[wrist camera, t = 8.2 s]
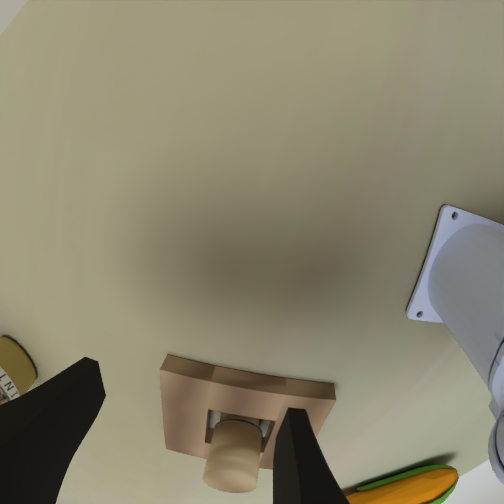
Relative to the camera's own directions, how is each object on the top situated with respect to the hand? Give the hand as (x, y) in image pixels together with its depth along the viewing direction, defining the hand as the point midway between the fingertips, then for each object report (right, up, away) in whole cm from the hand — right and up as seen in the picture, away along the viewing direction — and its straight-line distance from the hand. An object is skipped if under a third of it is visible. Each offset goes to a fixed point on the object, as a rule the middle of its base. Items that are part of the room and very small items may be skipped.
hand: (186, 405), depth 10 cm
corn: (+20, -25, +18) cm, 37 cm away
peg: (+1, -9, +14) cm, 16 cm away
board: (+1, -9, +14) cm, 17 cm away
